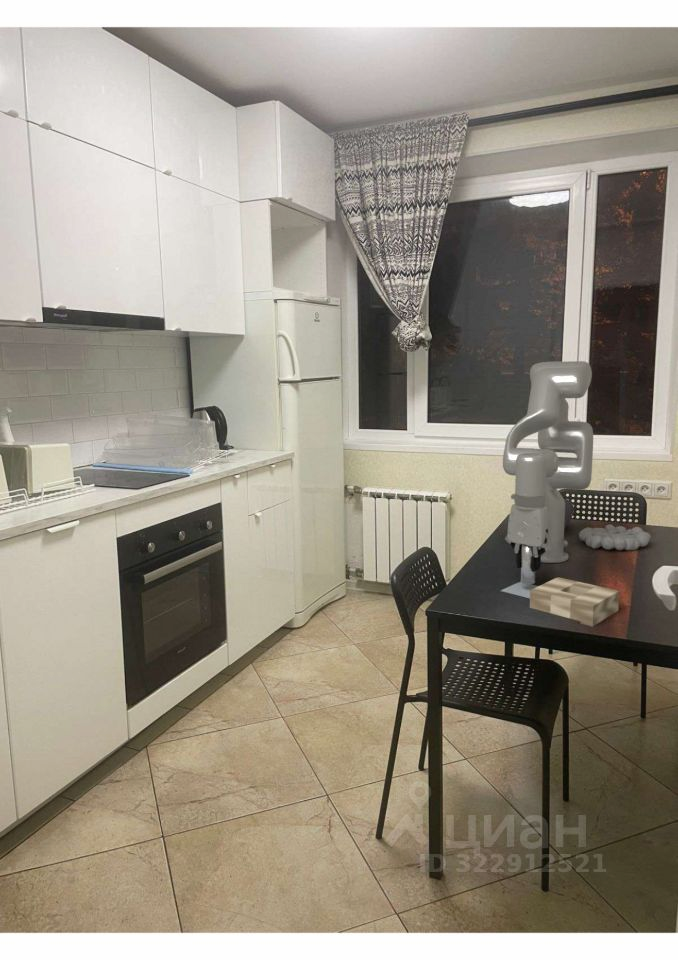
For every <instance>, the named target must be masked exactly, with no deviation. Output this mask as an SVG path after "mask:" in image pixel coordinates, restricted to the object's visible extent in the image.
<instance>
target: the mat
mask: <svg viewBox="0 0 678 960" xmlns="http://www.w3.org/2000/svg"><path fill="white" fill-rule="evenodd" d="M538 586H539V585H535V584H524V583H522V582H521V581H519V582H517V583H514V584H512V585H510V586H507V587H505V588H503V589H501V590H500V592H504V593H506V594H507V593H508V594H511V595H516V596H519V597H524V598H527V599H530V590H532V589H534V588H536V587H538Z"/></svg>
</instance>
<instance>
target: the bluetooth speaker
mask: <svg viewBox="0 0 678 960" xmlns="http://www.w3.org/2000/svg"><path fill="white" fill-rule="evenodd" d="M563 499H564V501H565V522H564V529H566V527H567V526H568V525H569V524H570V522H571V520H572V518H573V516H574V513H575V507H574V504H573V502H572V501H571V500H569V499H567V498H566V497H565V498H563Z"/></svg>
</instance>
